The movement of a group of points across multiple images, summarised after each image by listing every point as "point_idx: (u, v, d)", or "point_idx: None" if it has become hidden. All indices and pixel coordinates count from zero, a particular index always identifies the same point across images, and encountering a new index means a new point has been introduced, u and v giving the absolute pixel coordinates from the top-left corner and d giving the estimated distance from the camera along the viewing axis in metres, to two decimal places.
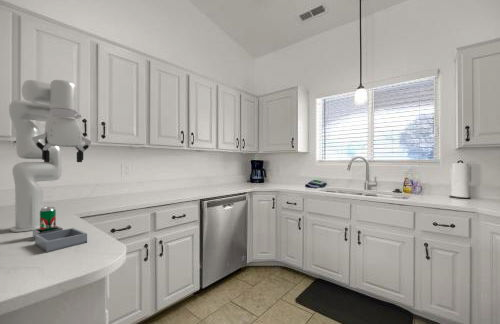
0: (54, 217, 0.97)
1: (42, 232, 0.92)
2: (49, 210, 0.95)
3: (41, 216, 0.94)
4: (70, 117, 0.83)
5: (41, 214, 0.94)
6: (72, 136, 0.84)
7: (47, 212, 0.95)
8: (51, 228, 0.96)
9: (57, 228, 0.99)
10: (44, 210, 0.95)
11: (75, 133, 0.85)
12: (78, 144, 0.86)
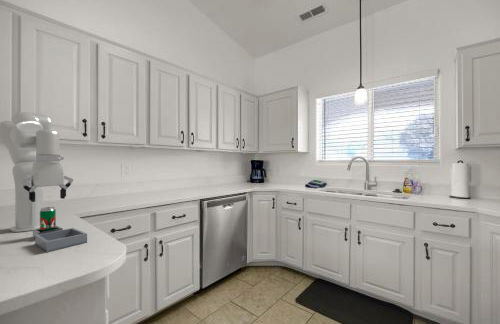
0: (54, 217, 0.97)
1: (42, 232, 0.92)
2: (49, 210, 0.95)
3: (41, 216, 0.94)
4: (53, 161, 0.96)
5: (41, 214, 0.94)
6: (55, 177, 0.97)
7: (47, 212, 0.95)
8: (51, 228, 0.96)
9: (57, 228, 0.99)
10: (44, 210, 0.95)
11: (58, 174, 0.98)
12: (61, 183, 0.99)
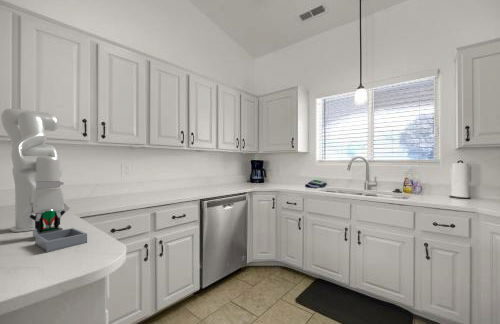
0: (54, 217, 0.97)
1: (42, 232, 0.92)
2: (49, 210, 0.95)
3: (41, 216, 0.94)
4: (53, 188, 0.96)
5: None
6: (55, 203, 0.97)
7: (47, 212, 0.95)
8: (51, 228, 0.96)
9: (57, 228, 0.99)
10: None
11: (58, 200, 0.98)
12: (61, 209, 0.99)
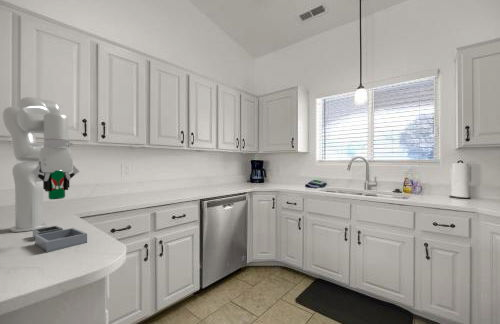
0: (63, 178, 0.91)
1: (42, 232, 0.92)
2: (58, 170, 0.90)
3: (50, 176, 0.88)
4: (62, 146, 0.90)
5: None
6: (64, 163, 0.91)
7: (56, 172, 0.89)
8: (60, 189, 0.90)
9: (57, 228, 0.99)
10: None
11: (67, 160, 0.92)
12: (70, 170, 0.93)
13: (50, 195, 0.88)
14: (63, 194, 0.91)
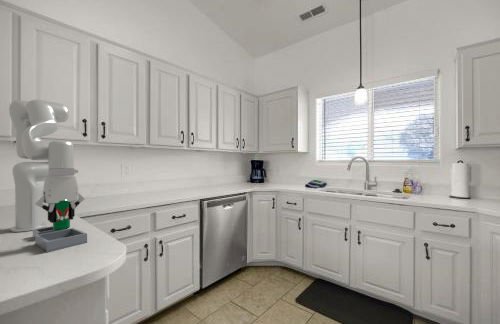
0: (68, 208, 0.88)
1: (42, 232, 0.92)
2: (63, 200, 0.86)
3: (55, 206, 0.85)
4: (67, 175, 0.87)
5: None
6: (69, 193, 0.88)
7: (61, 202, 0.86)
8: (65, 220, 0.87)
9: None
10: None
11: (72, 189, 0.89)
12: (75, 199, 0.90)
13: (55, 226, 0.85)
14: (68, 224, 0.88)
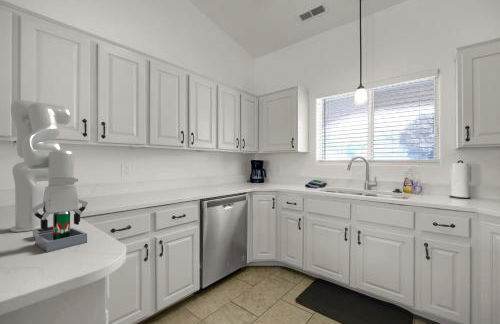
0: (69, 221, 0.88)
1: (42, 232, 0.92)
2: (63, 213, 0.87)
3: (55, 219, 0.85)
4: (67, 185, 0.87)
5: (54, 217, 0.85)
6: (69, 202, 0.88)
7: (61, 215, 0.86)
8: (65, 233, 0.87)
9: None
10: (58, 213, 0.86)
11: (72, 198, 0.89)
12: (75, 208, 0.90)
13: None
14: None
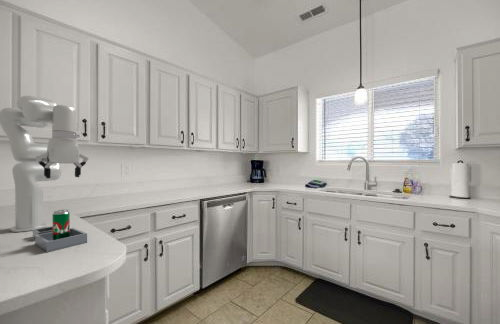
0: (68, 221, 0.88)
1: (42, 232, 0.92)
2: (63, 213, 0.86)
3: (54, 219, 0.85)
4: (69, 138, 0.93)
5: (54, 217, 0.85)
6: (71, 155, 0.95)
7: (61, 215, 0.86)
8: (65, 233, 0.87)
9: None
10: (57, 213, 0.86)
11: (74, 152, 0.95)
12: (76, 161, 0.97)
13: None
14: None
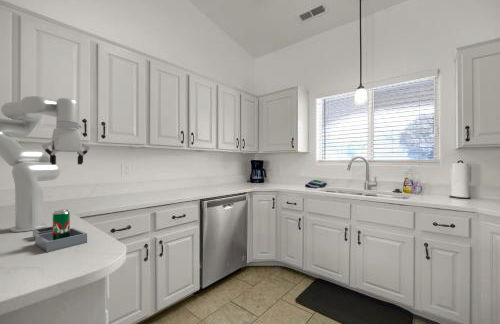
0: (68, 221, 0.88)
1: (42, 232, 0.92)
2: (63, 213, 0.86)
3: (55, 219, 0.85)
4: (72, 128, 1.02)
5: (54, 217, 0.85)
6: (74, 143, 1.04)
7: (61, 215, 0.86)
8: (65, 233, 0.87)
9: None
10: (58, 213, 0.86)
11: (76, 141, 1.04)
12: (79, 150, 1.05)
13: None
14: None
